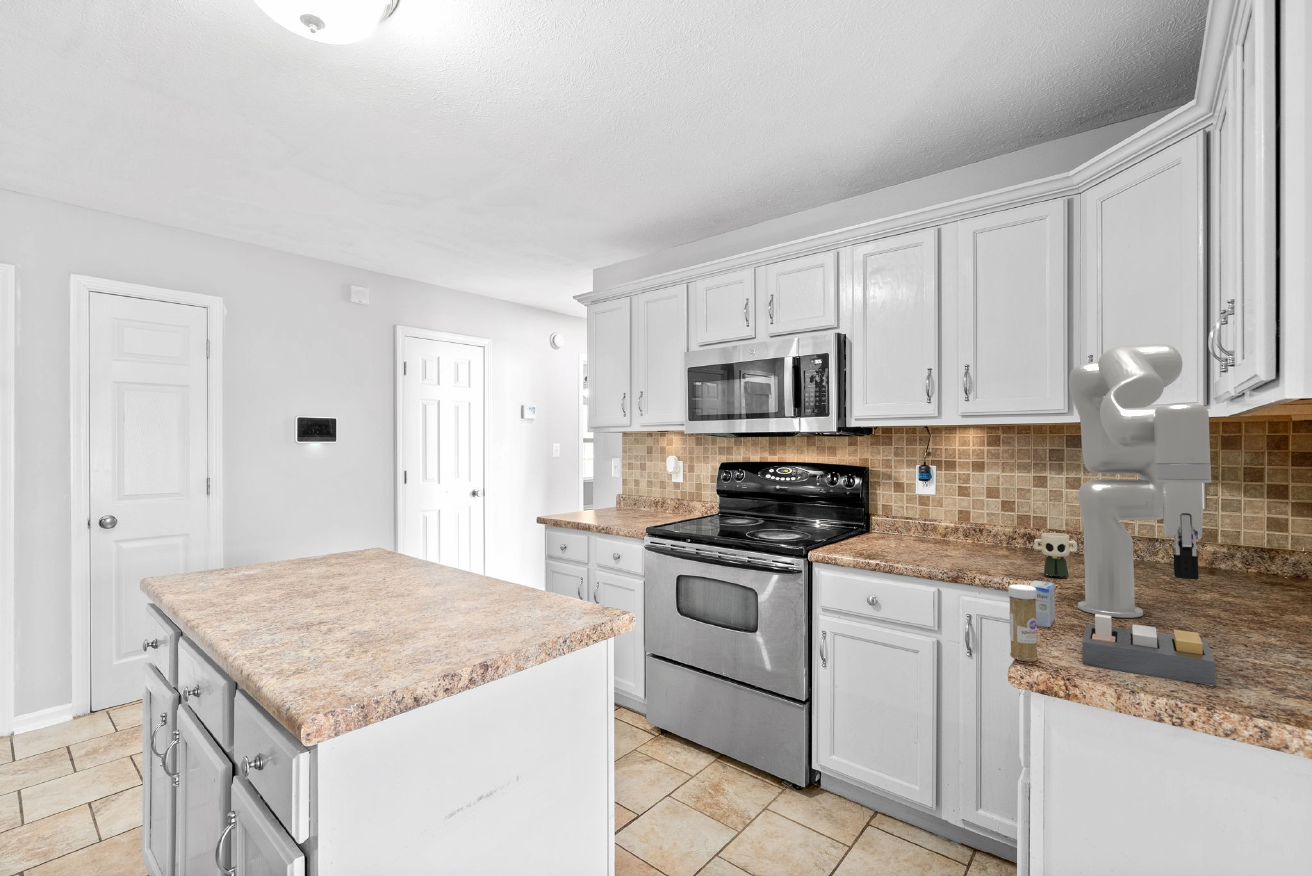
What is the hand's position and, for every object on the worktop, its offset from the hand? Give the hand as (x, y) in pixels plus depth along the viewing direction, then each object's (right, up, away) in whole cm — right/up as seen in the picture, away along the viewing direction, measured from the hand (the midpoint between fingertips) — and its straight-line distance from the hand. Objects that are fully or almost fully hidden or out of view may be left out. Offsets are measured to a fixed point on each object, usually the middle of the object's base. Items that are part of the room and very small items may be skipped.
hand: (1186, 577), depth 109 cm
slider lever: (-10, -13, +6) cm, 18 cm away
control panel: (-4, -16, +4) cm, 17 cm away
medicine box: (-7, -17, +30) cm, 36 cm away
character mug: (+28, -18, +79) cm, 86 cm away
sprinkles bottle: (-25, -17, +7) cm, 31 cm away
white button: (-4, -12, +4) cm, 14 cm away
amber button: (0, -12, 0) cm, 12 cm away
